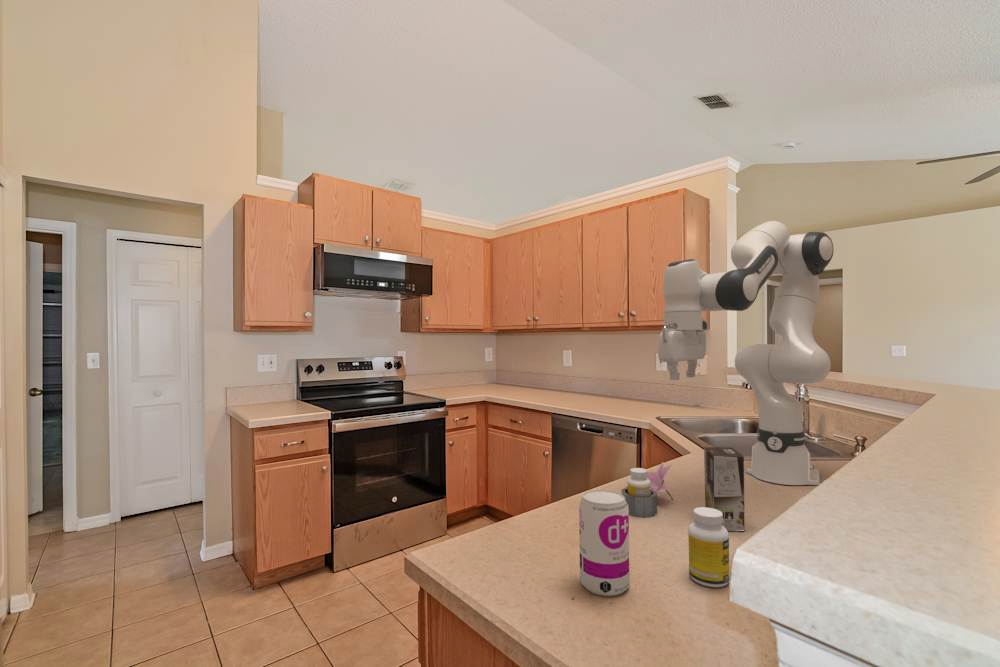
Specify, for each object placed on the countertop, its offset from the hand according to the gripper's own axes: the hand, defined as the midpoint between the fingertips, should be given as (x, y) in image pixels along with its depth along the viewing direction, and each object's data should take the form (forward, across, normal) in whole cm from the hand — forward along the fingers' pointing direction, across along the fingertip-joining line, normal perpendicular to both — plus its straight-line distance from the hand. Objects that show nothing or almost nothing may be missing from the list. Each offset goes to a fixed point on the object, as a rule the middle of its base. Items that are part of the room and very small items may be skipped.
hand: (683, 378), depth 120 cm
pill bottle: (+31, -34, -19) cm, 50 cm away
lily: (+31, -3, +6) cm, 32 cm away
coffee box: (+31, -7, -12) cm, 34 cm away
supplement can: (+31, -48, -7) cm, 58 cm away
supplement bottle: (+31, -13, +6) cm, 34 cm away
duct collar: (+31, -13, +6) cm, 34 cm away
